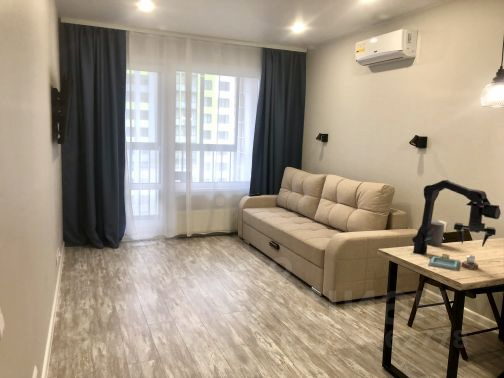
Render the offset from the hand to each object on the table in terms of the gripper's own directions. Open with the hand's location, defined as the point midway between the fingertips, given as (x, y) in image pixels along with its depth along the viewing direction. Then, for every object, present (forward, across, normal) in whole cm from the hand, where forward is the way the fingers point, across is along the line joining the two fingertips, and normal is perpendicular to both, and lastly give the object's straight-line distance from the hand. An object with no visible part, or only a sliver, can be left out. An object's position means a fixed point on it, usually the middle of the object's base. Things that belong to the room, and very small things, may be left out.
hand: (472, 244), depth 211 cm
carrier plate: (+12, -12, -2) cm, 17 cm away
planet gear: (+12, 0, 0) cm, 12 cm away
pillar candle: (+12, -21, +37) cm, 44 cm away
